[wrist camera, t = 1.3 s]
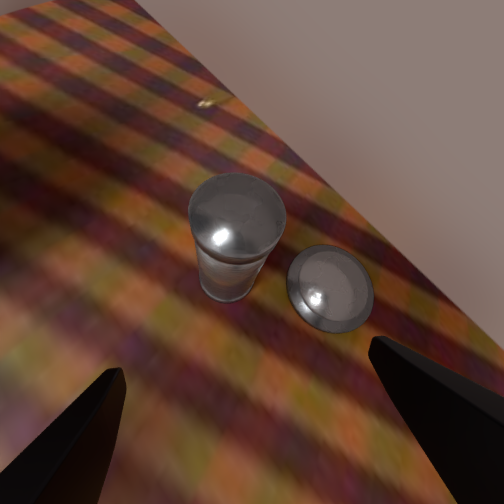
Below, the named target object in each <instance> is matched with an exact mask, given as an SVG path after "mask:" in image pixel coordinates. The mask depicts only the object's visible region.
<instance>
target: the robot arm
mask: <svg viewBox="0 0 504 504" xmlns="http://www.w3.org/2000/svg"><path fill="white" fill-rule="evenodd" d="M368 356H369V359H370V361H371V363H372V365H373V367H374V369H375V371H376V373H377V375H378V376H379V378H380V380H381V382H382V384H383V386H384V388H385V390H386V392H387V393H388V395H389V397H390V399H391V400H392V402H393V404H394V405H395V407H396V408H397V410H398V412H399V413H400V415H401V416H402V418H403V419H404V421H405V423H406V424H407V426H408V427H409V429H410V430H411V432H412V433H413V435H414V437H415V438H416V440H417V441H418V443H419V444H420V446H421V447H422V449H423V451H424V452H425V454H426V455H427V457H428V458H429V460H430V461H431V463H432V465H433V466H434V468H435V469H436V471H437V472H438V474H439V476H440V477H441V479H442V480H443V482H444V483H445V485H446V486H447V488H448V490H449V491H450V493H451V494H452V496H453V497H454V499H455V500H456V502H457V504H504V397H502V396H500V395H498V394H497V393H495V392H493V391H491V390H489V389H487V388H485V387H483V386H481V385H479V384H477V383H475V382H473V381H471V380H469V379H467V378H465V377H463V376H462V375H460V374H458V373H456V372H454V371H452V370H450V369H448V368H446V367H444V366H442V365H440V364H438V363H436V362H434V361H432V360H430V359H428V358H426V357H425V356H423V355H421V354H419V353H417V352H415V351H413V350H411V349H409V348H407V347H405V346H403V345H401V344H399V343H397V342H395V341H393V340H391V339H389V338H388V337H386V336H375V337H373V338H372V341H371V344H370V348H369V351H368ZM125 396H126V382H125V378H124V373H123V370H122V368H120V367H118V368H110V369H107V370H105V371H104V372H103V373H102V374H101V375H100V376H99V377H98V378H97V379H96V380H95V381H94V382H93V383H92V384H91V385H90V386H89V387H88V388H87V389H86V390H85V391H84V392H83V393H82V394H81V395H80V396H79V397H78V398H77V399H76V400H75V401H74V402H72V403H71V404H70V405H69V406H68V407H67V408H66V409H65V410H64V411H63V412H62V413H61V414H60V415H59V416H58V417H57V418H56V419H55V420H54V421H53V422H52V423H51V424H50V425H49V426H48V427H47V428H46V429H45V430H44V431H43V432H42V433H41V434H40V435H39V436H38V437H37V438H36V439H35V440H34V441H33V442H32V443H31V444H30V445H29V446H27V447H26V448H25V449H24V450H23V451H22V452H21V453H20V454H19V455H18V456H17V457H16V458H15V459H14V460H13V461H12V462H11V463H10V464H9V465H8V466H7V467H6V468H5V469H4V470H3V471H2V472H1V473H0V504H97V503H98V500H99V497H100V493H101V490H102V487H103V484H104V481H105V477H106V474H107V471H108V468H109V465H110V461H111V458H112V455H113V451H114V448H115V443H116V439H117V434H118V429H119V425H120V420H121V415H122V410H123V405H124V401H125Z"/></svg>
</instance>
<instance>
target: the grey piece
mask: <svg viewBox="0 0 504 504" xmlns="http://www.w3.org/2000/svg"><path fill="white" fill-rule="evenodd" d="M188 214H189V222H190V227H191V232H192V235H193V238H194V240H195V247H196V253H197V259H198V265H199V279H200V284H201V287H202V289H203V291H204V292H205V294H206V295H207V296H208V297H209V298H211V299H212V300H214V301H216V302H219V303H225V304H229V303H234V302H237V301H239V300H241V299H243V298H244V297H245V296H246V295H247V294H248V293H249V291H250V290H251V288H252V286H253V283H254V280H255V278H256V276H257V275H258V273H259V271H260V269H261V267H262V266H263V264H264V262H265V260H266V258H267V257H268V255H269V253H270V252H271V251H272V250H273V249H274V247H275V246H276V244H277V242H278V241H279V239H280V237H281V235H282V234H283V231H284V229H285V225H286V210H285V206H284V204H283V201H282V199H281V198H280V196H279V195H278V193H277V192H276V191H275V190H274V189H273V188H272V187H271V186H270V185H269V184H267V183H266V182H264V181H263V180H261V179H259V178H257V177H254V176H251V175H248V174H243V173H224V174H220V175H216V176H214V177H211V178H209V179H208V180H206V181H205V182H203V183H202V184H201V185H200V186H199V187H198V188H197V189H196V190H195V192H194V193H193V195H192V197H191V199H190V203H189V208H188Z"/></svg>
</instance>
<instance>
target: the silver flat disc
mask: <svg viewBox="0 0 504 504" xmlns="http://www.w3.org/2000/svg"><path fill="white" fill-rule="evenodd" d="M286 287H287V293H288V297H289V300H290V302H291V304H292V306H293V308H294V309H295V311H296V312H297V314H298V315H299V316H300V317H301V318H302V319H303V320H304V321H305V322H306V323H308V324H309V325H310V326H312V327H314V328H316V329H318V330H320V331H323V332H327V333H344V332H349V331H352V330H354V329H356V328H358V327H359V326H361V325H362V324H363V323H364V322H365V321H366V320H367V318H368V317H369V315H370V313H371V310H372V307H373V301H374V293H373V287H372V283H371V280H370V277H369V275H368V273H367V272H366V270H365V268H364V267H363V266H362V264H361V263H360V262H359V261H358V260H357V259H356V258H355V257H353V256H352V255H351V254H349V253H348V252H346V251H344V250H343V249H340V248H338V247H334V246H330V245H316V246H312V247H309V248H307V249H305V250H303V251H302V252H301V253H299V254H298V256H297V257H296V258H295V259H294V260H293V262H292V263H291V265H290V267H289V269H288V273H287V278H286Z"/></svg>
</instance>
